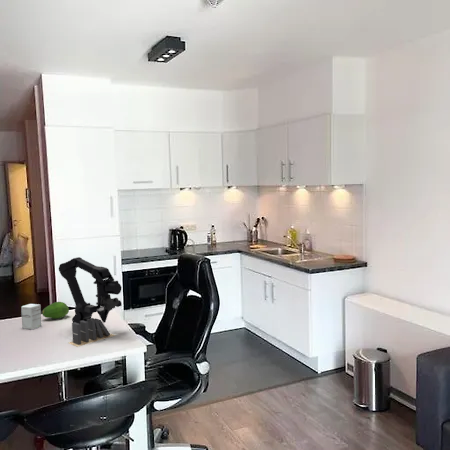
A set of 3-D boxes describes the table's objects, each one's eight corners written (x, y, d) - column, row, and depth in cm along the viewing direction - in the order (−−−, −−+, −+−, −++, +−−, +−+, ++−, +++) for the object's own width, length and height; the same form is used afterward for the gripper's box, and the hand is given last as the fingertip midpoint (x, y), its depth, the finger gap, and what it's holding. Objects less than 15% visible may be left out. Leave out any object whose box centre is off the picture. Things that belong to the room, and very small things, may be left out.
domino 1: (78, 344, 226) (77, 324, 226) (72, 342, 230) (71, 323, 229) (81, 343, 228) (80, 323, 227) (75, 341, 231) (74, 322, 230)
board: (77, 347, 224) (77, 346, 224) (67, 344, 230) (67, 342, 230) (115, 336, 240) (115, 335, 240) (106, 333, 246) (106, 332, 246)
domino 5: (107, 336, 239) (98, 322, 234) (102, 334, 242) (93, 320, 238) (110, 334, 240) (100, 319, 235) (104, 332, 243) (95, 318, 238)
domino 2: (86, 342, 229) (85, 322, 229) (80, 340, 233) (79, 321, 232) (89, 341, 231) (88, 322, 230) (83, 339, 234) (82, 320, 233)
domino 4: (100, 338, 235) (94, 321, 233) (95, 336, 239) (89, 319, 236) (103, 336, 237) (97, 319, 234) (98, 334, 240) (92, 317, 237)
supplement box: (21, 328, 258) (20, 306, 257) (31, 325, 265) (30, 303, 264) (32, 329, 255) (30, 307, 254) (42, 326, 262) (40, 304, 261)
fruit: (44, 322, 269) (43, 305, 268) (41, 318, 277) (40, 302, 276) (70, 318, 276) (70, 302, 276) (67, 314, 285) (66, 298, 284)
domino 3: (93, 340, 232) (92, 321, 231) (88, 338, 236) (86, 319, 235) (96, 339, 234) (94, 320, 233) (91, 337, 237) (89, 318, 236)
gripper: (95, 298, 226) (96, 329, 227) (127, 291, 240) (128, 321, 241) (83, 295, 233) (84, 325, 235) (114, 288, 247) (116, 317, 248)
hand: (104, 322), depth 240 cm, fingers closed
